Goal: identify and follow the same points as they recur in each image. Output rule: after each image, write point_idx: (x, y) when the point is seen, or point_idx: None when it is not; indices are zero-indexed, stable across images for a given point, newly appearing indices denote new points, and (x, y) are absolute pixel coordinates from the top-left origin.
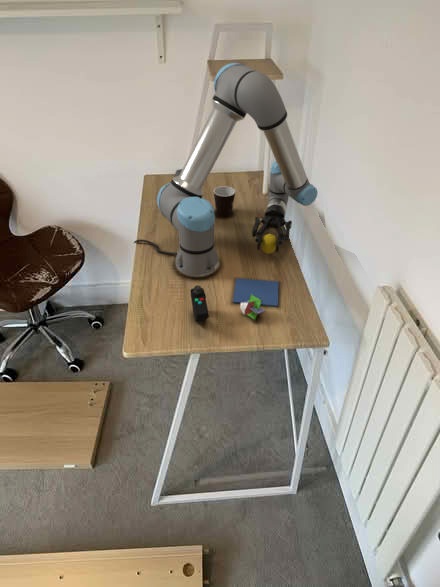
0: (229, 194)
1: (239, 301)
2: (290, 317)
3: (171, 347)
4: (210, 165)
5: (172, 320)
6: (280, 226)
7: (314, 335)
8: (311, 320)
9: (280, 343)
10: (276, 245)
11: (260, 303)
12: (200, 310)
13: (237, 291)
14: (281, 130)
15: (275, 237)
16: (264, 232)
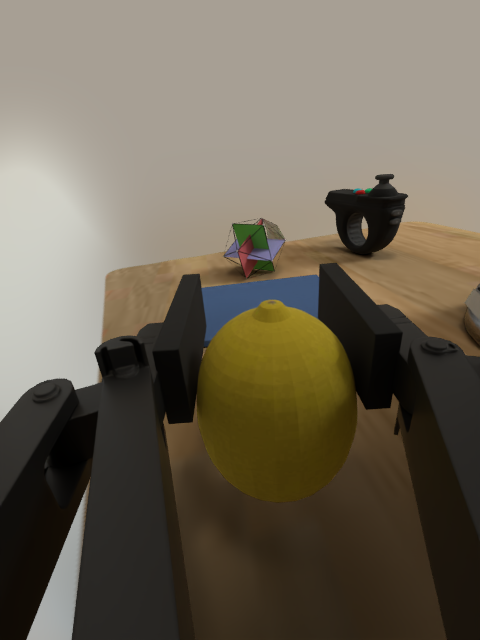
0: None
1: (299, 277)
2: (164, 284)
3: (364, 230)
4: None
5: (409, 243)
6: (93, 613)
7: (120, 273)
8: (114, 289)
9: (190, 257)
10: (197, 275)
11: (235, 231)
12: (344, 191)
13: None
14: None
15: (211, 353)
16: (430, 551)
